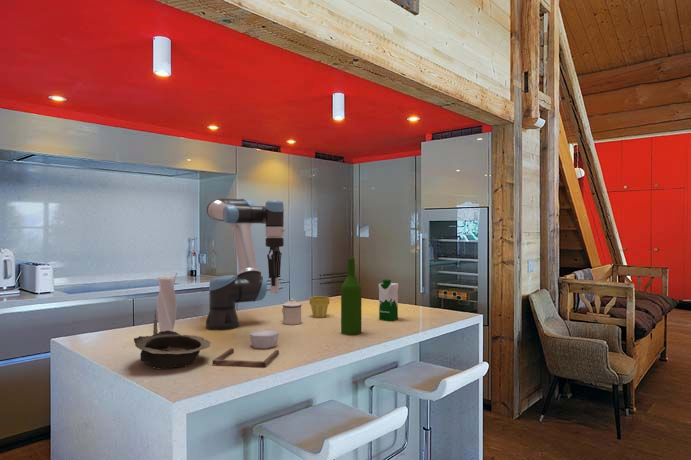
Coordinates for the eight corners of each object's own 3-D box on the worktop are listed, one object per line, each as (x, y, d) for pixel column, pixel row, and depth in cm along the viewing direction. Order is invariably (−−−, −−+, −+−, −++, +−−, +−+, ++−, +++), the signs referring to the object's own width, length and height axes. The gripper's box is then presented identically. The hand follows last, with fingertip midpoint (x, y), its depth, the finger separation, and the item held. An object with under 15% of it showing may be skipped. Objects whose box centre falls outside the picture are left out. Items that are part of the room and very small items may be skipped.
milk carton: (376, 320, 223) (376, 279, 223) (385, 316, 231) (385, 278, 231) (392, 321, 218) (392, 281, 218) (400, 318, 226) (400, 279, 226)
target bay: (212, 364, 150) (212, 360, 150) (230, 352, 165) (230, 348, 165) (265, 367, 147) (265, 362, 147) (278, 354, 162) (278, 350, 162)
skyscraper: (172, 336, 190) (172, 270, 190) (180, 340, 184) (180, 272, 184) (152, 340, 184) (152, 272, 184) (160, 343, 178) (160, 273, 178)
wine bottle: (365, 332, 196) (365, 258, 196) (352, 336, 190) (351, 259, 189) (350, 329, 202) (350, 257, 202) (336, 332, 196) (336, 258, 195)
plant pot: (311, 314, 238) (311, 295, 238) (330, 314, 237) (330, 296, 237) (307, 318, 228) (307, 298, 228) (327, 318, 227) (327, 299, 227)
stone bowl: (124, 359, 155) (127, 332, 156) (197, 353, 170) (199, 328, 170) (139, 377, 135) (141, 346, 136) (219, 369, 150) (221, 341, 150)
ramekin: (246, 344, 177) (246, 330, 177) (274, 341, 182) (274, 328, 182) (252, 351, 167) (252, 337, 167) (281, 347, 171) (281, 334, 171)
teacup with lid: (305, 323, 216) (305, 298, 216) (290, 325, 210) (290, 301, 210) (290, 319, 225) (290, 296, 225) (275, 322, 218) (275, 298, 218)
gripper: (278, 237, 181) (278, 295, 181) (287, 236, 195) (287, 291, 195) (260, 237, 182) (260, 295, 182) (271, 236, 196) (271, 290, 196)
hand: (274, 293), depth 188 cm, fingers closed
